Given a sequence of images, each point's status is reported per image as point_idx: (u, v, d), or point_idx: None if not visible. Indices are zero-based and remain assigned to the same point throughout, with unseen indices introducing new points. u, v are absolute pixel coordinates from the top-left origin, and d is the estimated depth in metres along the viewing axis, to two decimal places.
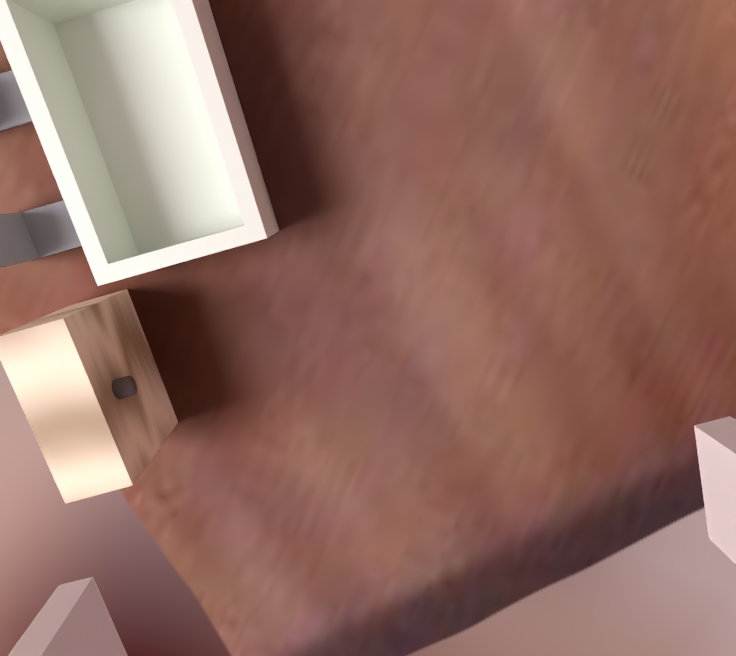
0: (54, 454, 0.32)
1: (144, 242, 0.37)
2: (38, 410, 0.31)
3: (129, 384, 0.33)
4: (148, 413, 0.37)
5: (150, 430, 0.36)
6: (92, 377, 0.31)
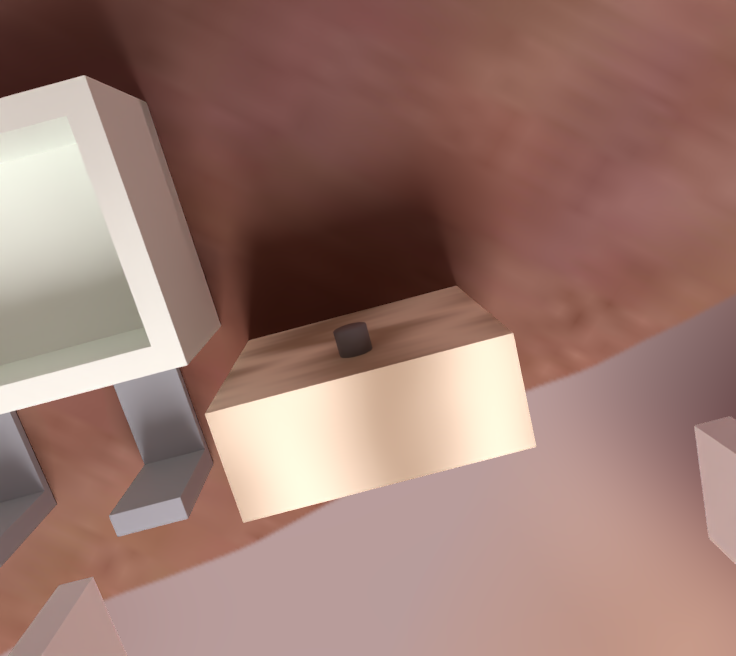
0: (444, 453, 0.19)
1: None
2: (365, 468, 0.19)
3: (345, 330, 0.20)
4: (419, 316, 0.23)
5: (444, 314, 0.22)
6: (312, 381, 0.18)
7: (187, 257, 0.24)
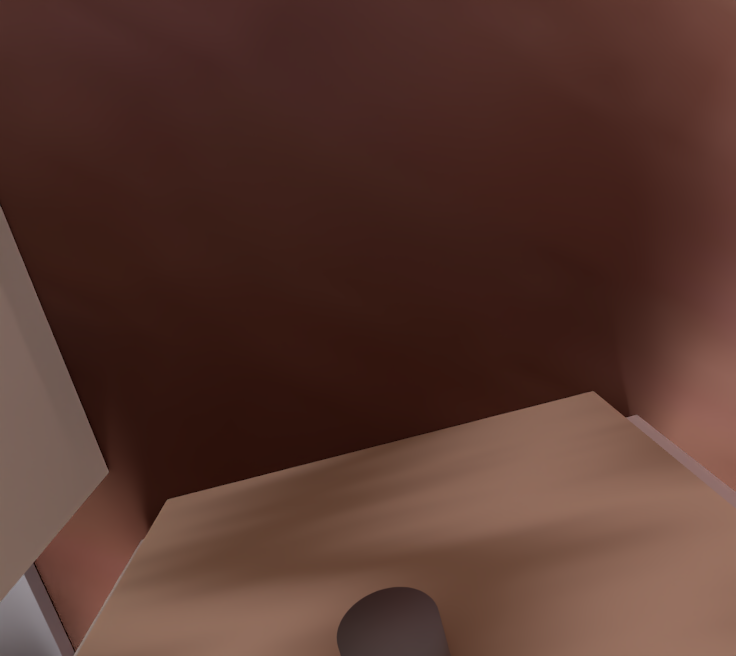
0: None
1: None
2: None
3: (376, 644, 0.06)
4: (553, 509, 0.09)
5: (627, 520, 0.09)
6: None
7: (6, 348, 0.11)
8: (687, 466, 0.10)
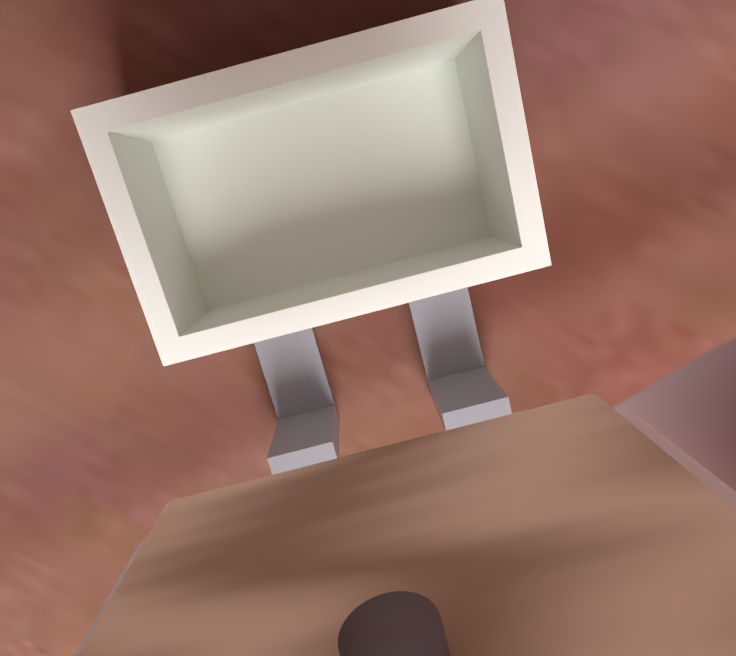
0: None
1: (475, 227, 0.27)
2: None
3: (377, 649, 0.06)
4: (554, 512, 0.09)
5: (629, 523, 0.08)
6: None
7: None
8: (687, 466, 0.10)
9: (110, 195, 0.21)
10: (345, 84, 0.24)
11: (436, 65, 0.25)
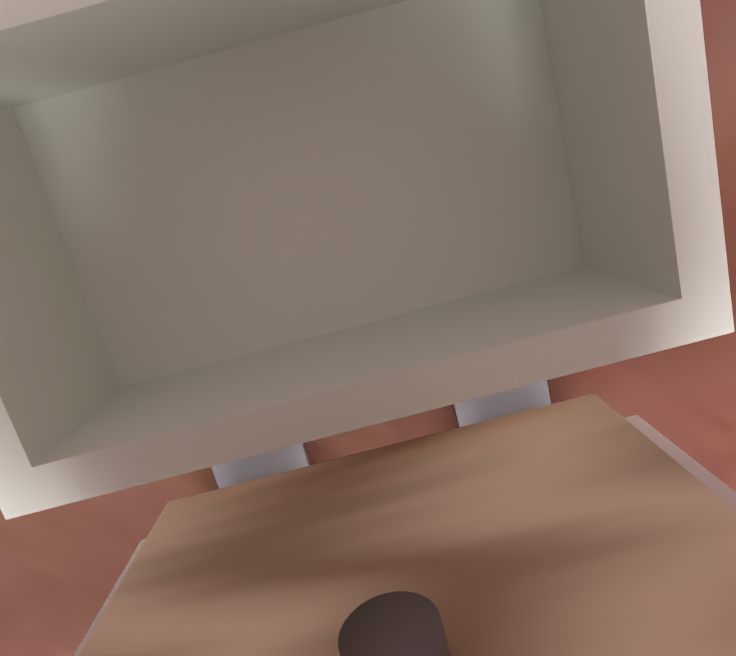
0: None
1: (559, 251, 0.17)
2: None
3: (377, 649, 0.06)
4: (554, 513, 0.09)
5: (628, 523, 0.09)
6: None
7: None
8: (687, 466, 0.10)
9: None
10: (344, 0, 0.14)
11: None
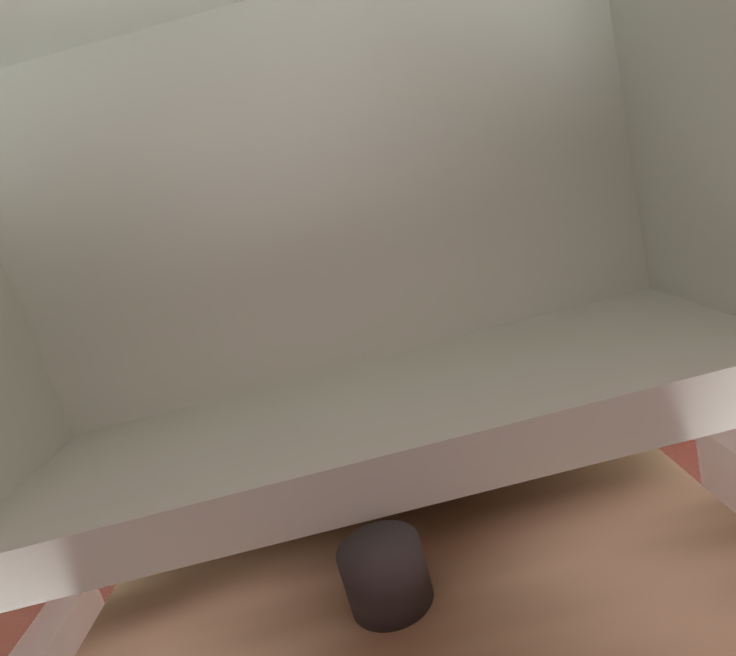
0: None
1: (619, 269, 0.13)
2: None
3: (367, 560, 0.08)
4: None
5: (583, 472, 0.10)
6: None
7: None
8: None
9: None
10: None
11: None
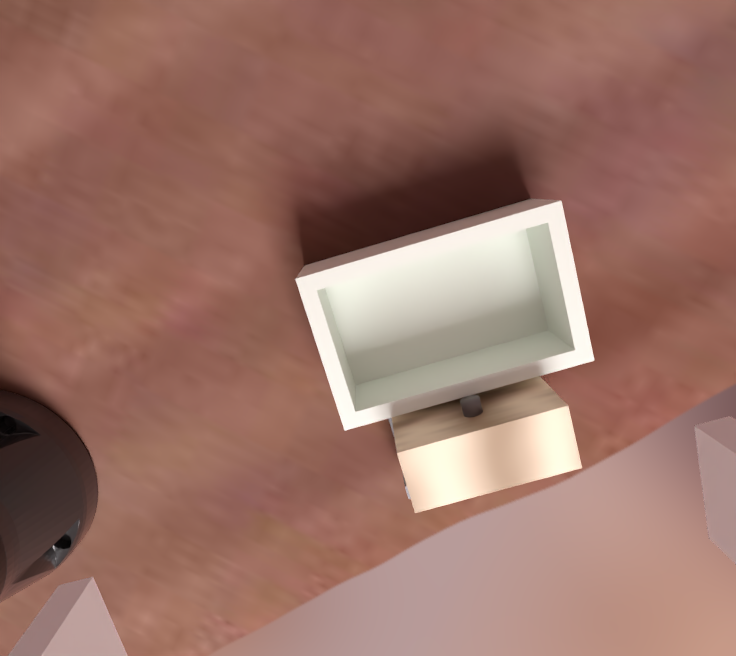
0: (529, 472, 0.33)
1: (538, 324, 0.40)
2: (484, 481, 0.33)
3: (468, 401, 0.34)
4: (505, 386, 0.37)
5: (521, 386, 0.37)
6: (454, 433, 0.33)
7: None
8: None
9: (316, 327, 0.34)
10: None
11: None
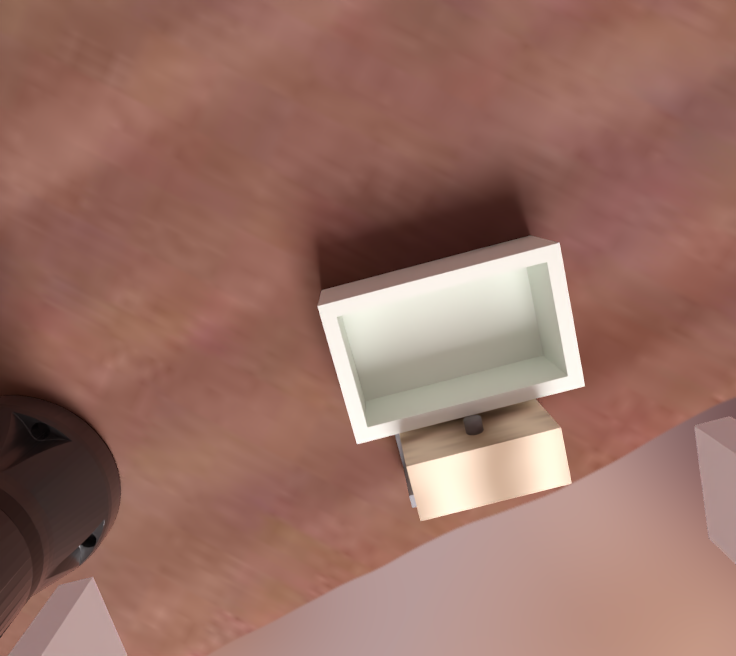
0: (524, 486, 0.37)
1: (534, 350, 0.44)
2: (484, 494, 0.37)
3: (470, 420, 0.38)
4: None
5: (518, 407, 0.40)
6: (458, 450, 0.37)
7: None
8: None
9: (335, 350, 0.38)
10: None
11: None
